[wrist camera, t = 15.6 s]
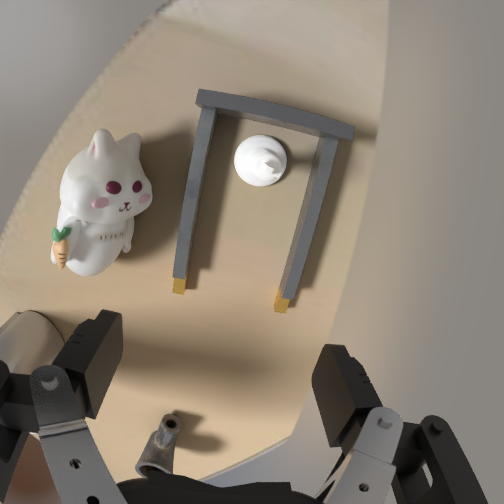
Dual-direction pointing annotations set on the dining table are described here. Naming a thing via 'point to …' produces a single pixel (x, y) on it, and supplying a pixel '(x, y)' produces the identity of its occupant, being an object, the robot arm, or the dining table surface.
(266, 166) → the chess piece
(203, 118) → the bracket
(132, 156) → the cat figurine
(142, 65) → the dining table surface
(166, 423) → the pipe
